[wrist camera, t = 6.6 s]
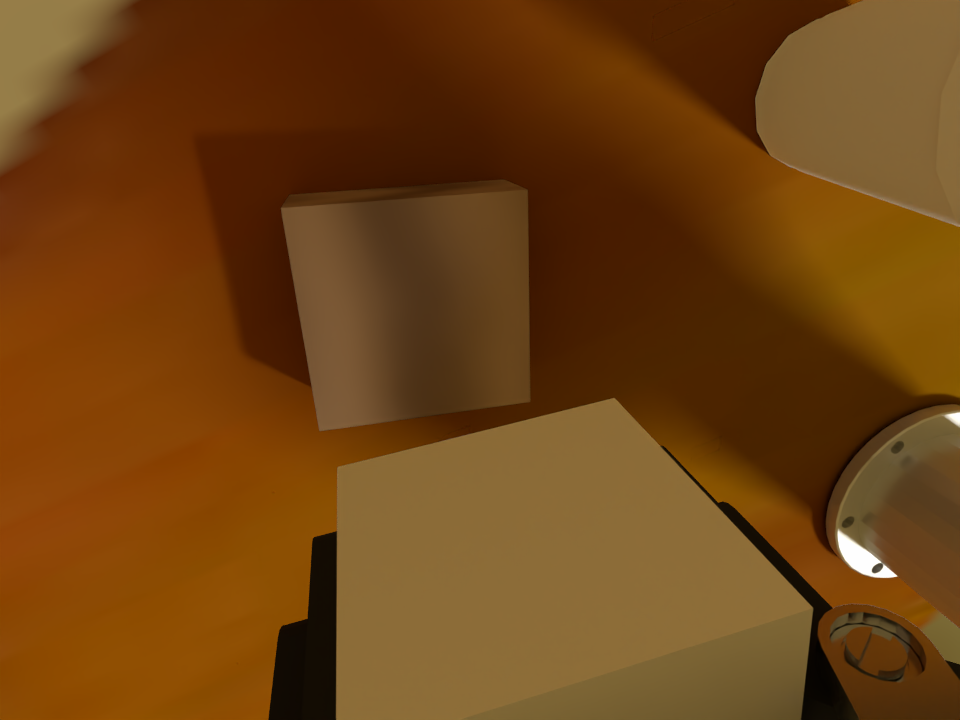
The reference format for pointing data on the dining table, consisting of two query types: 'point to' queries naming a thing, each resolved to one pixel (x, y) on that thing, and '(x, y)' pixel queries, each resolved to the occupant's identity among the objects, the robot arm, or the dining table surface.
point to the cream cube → (555, 584)
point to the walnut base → (412, 299)
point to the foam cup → (871, 102)
